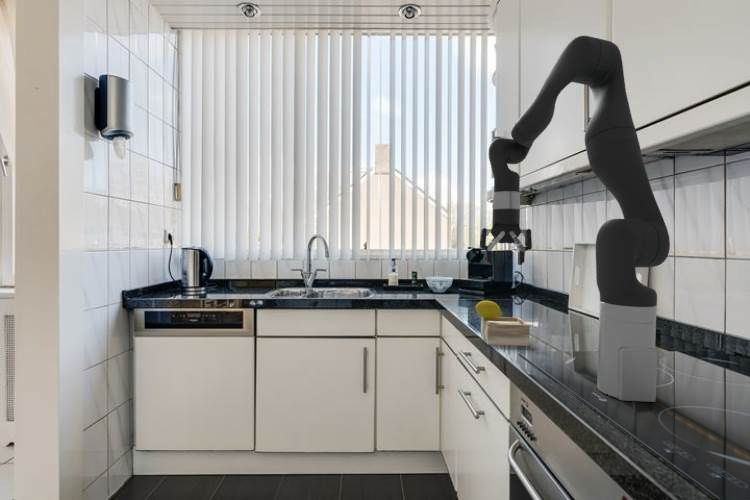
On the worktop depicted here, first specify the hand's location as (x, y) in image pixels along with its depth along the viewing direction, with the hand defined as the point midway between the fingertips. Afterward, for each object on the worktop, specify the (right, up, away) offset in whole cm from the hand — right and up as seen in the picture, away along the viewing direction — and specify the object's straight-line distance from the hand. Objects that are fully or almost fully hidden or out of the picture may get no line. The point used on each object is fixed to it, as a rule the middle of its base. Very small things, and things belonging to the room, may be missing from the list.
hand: (504, 264), depth 116 cm
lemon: (0, -15, +1) cm, 15 cm away
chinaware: (-2, -19, +109) cm, 111 cm away
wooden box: (0, -22, +1) cm, 22 cm away
